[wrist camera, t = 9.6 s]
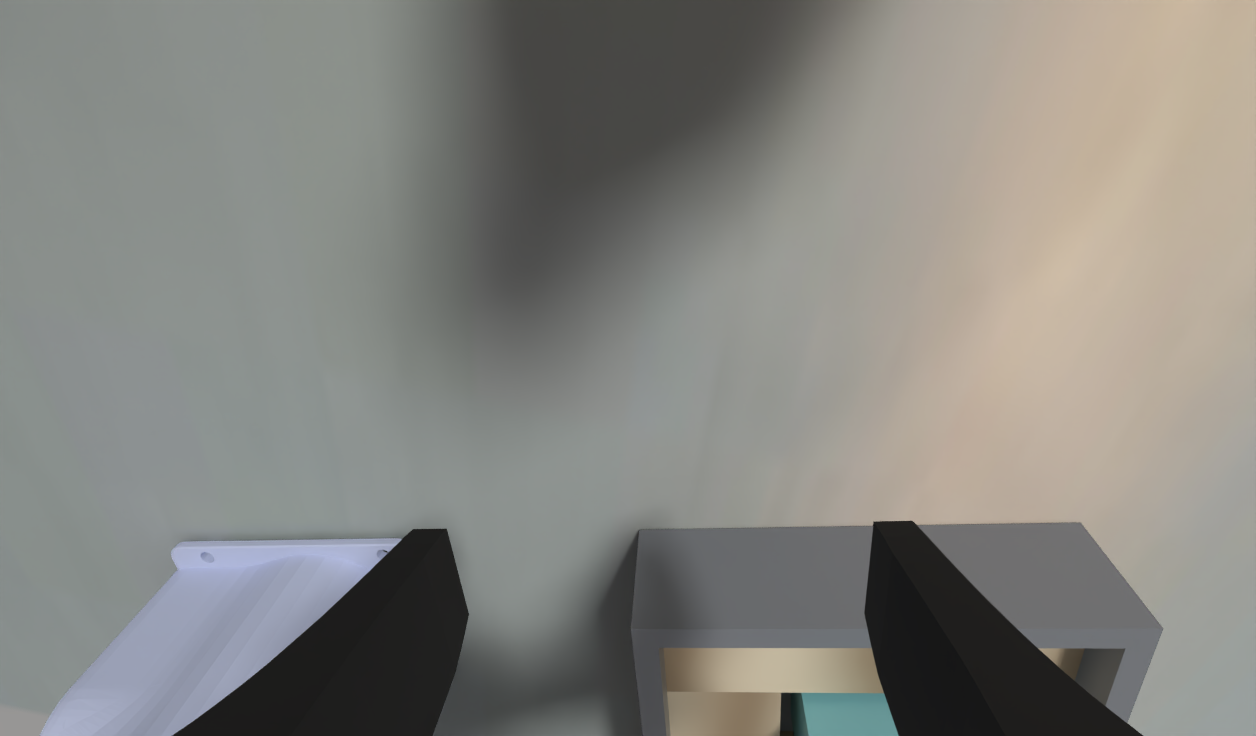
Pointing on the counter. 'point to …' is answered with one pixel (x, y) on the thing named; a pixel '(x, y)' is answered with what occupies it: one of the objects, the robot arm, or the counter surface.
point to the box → (836, 593)
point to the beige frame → (771, 684)
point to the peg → (841, 714)
